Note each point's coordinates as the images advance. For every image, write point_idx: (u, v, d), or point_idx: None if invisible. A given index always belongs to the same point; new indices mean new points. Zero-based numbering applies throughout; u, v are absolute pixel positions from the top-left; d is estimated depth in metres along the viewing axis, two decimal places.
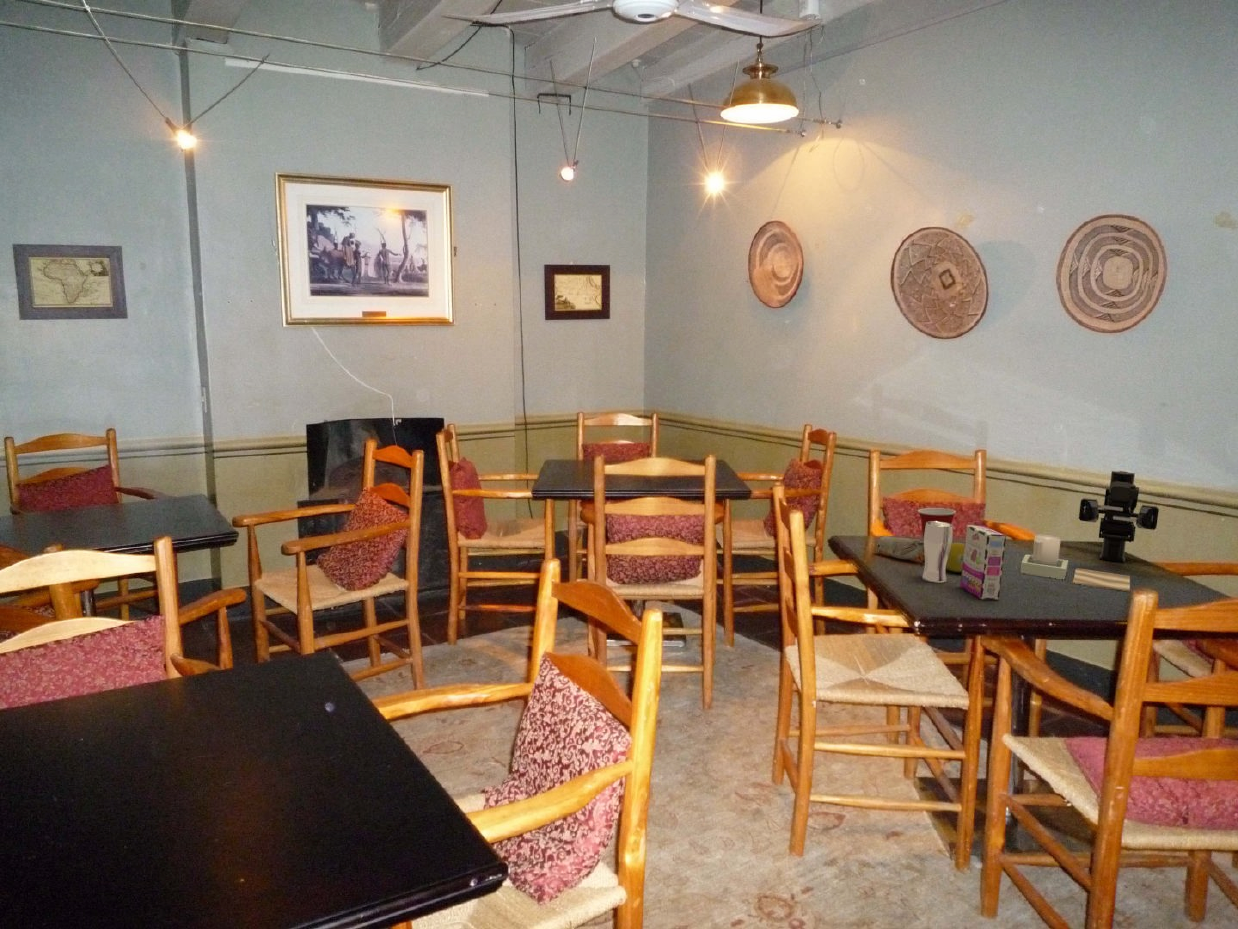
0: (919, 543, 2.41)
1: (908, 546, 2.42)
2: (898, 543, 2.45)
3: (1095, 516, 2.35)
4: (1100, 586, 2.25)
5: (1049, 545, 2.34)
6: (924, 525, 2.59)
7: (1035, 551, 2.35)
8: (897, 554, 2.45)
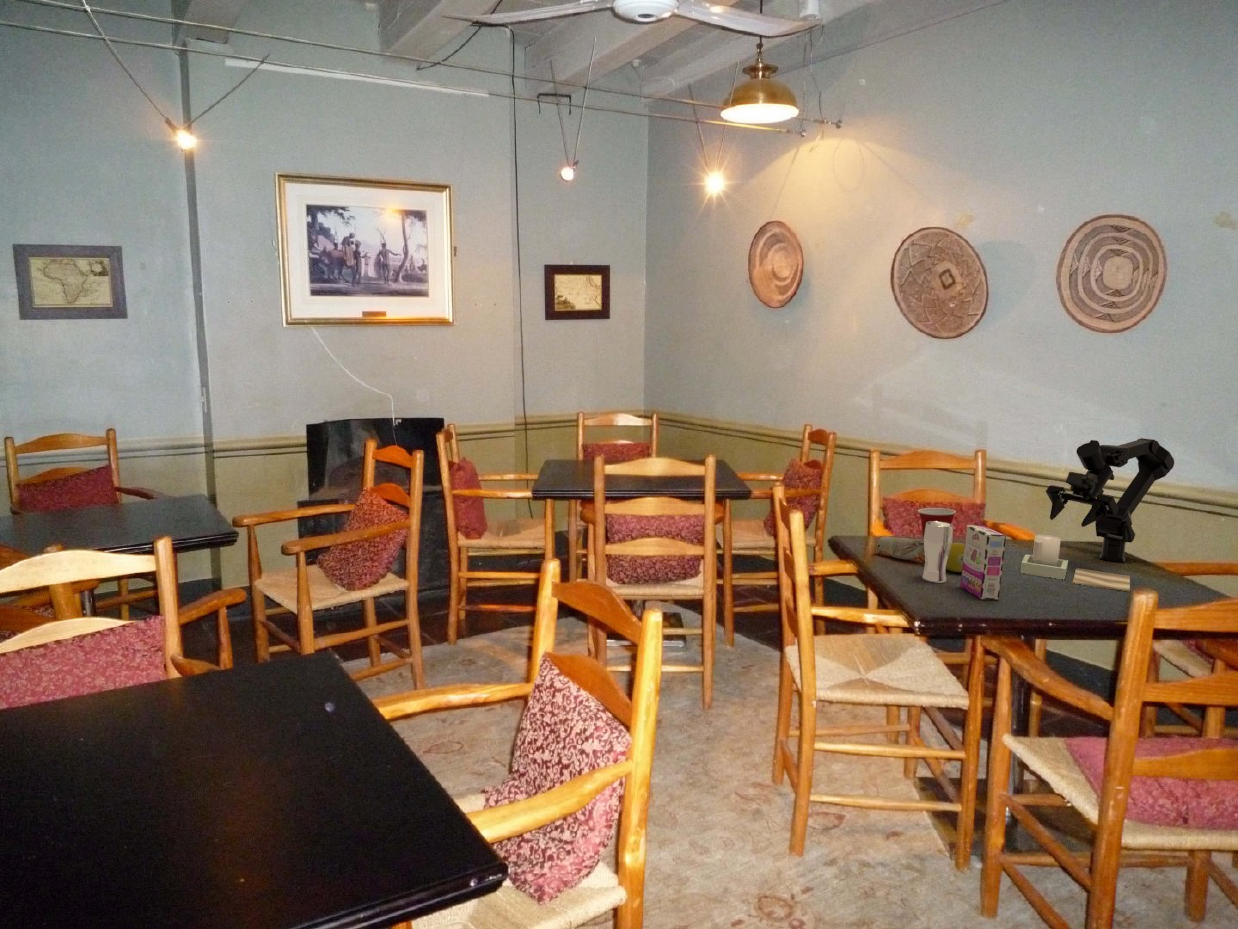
0: (919, 543, 2.41)
1: (908, 546, 2.42)
2: (898, 543, 2.45)
3: None
4: (1100, 586, 2.25)
5: (1049, 545, 2.34)
6: (924, 525, 2.59)
7: (1035, 551, 2.35)
8: (897, 555, 2.45)
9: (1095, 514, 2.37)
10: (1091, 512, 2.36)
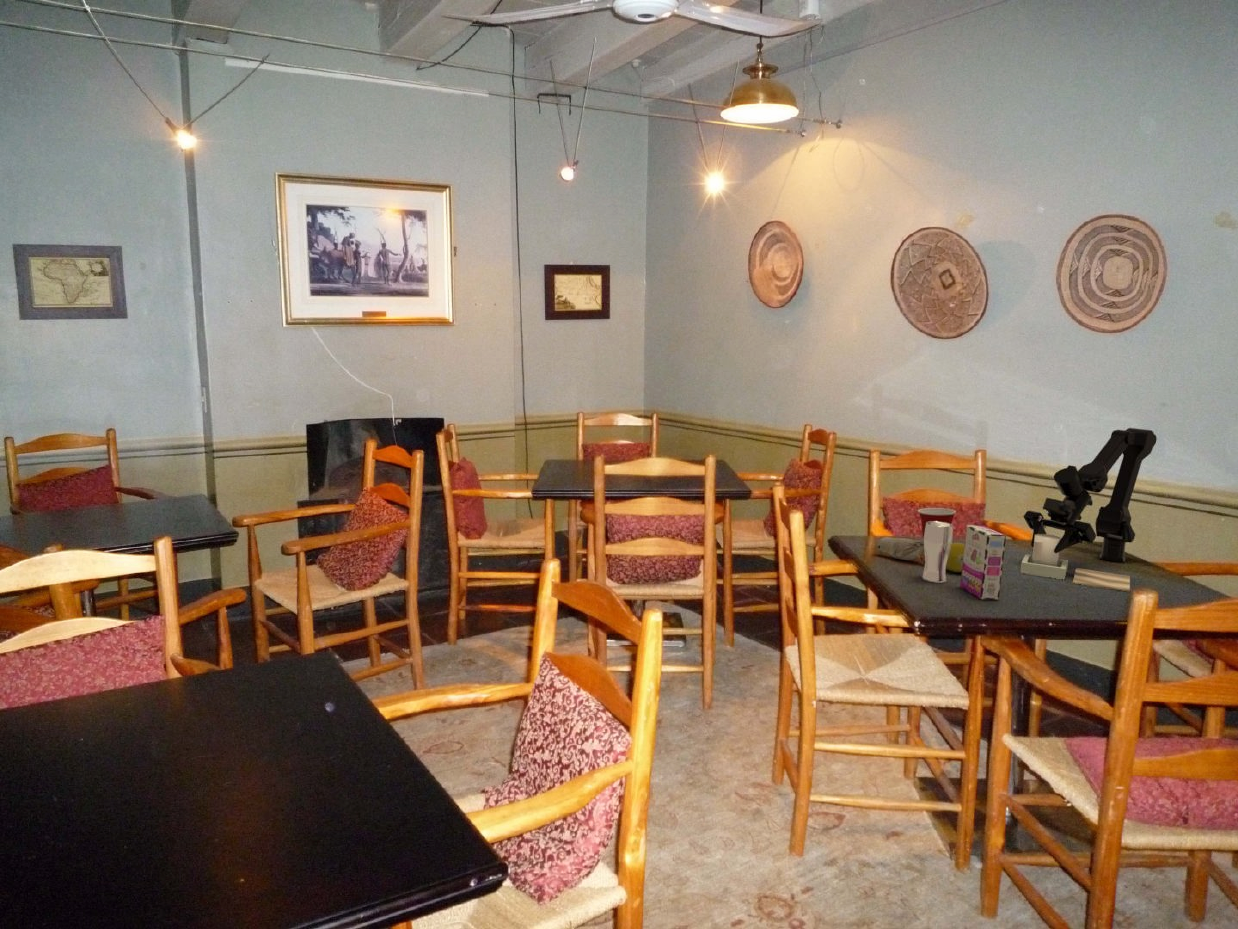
0: (921, 544, 2.41)
1: (910, 547, 2.42)
2: (899, 543, 2.44)
3: None
4: (1100, 586, 2.25)
5: (1049, 545, 2.34)
6: (924, 525, 2.59)
7: (1035, 551, 2.35)
8: (898, 555, 2.44)
9: (1068, 540, 2.34)
10: (1064, 538, 2.34)
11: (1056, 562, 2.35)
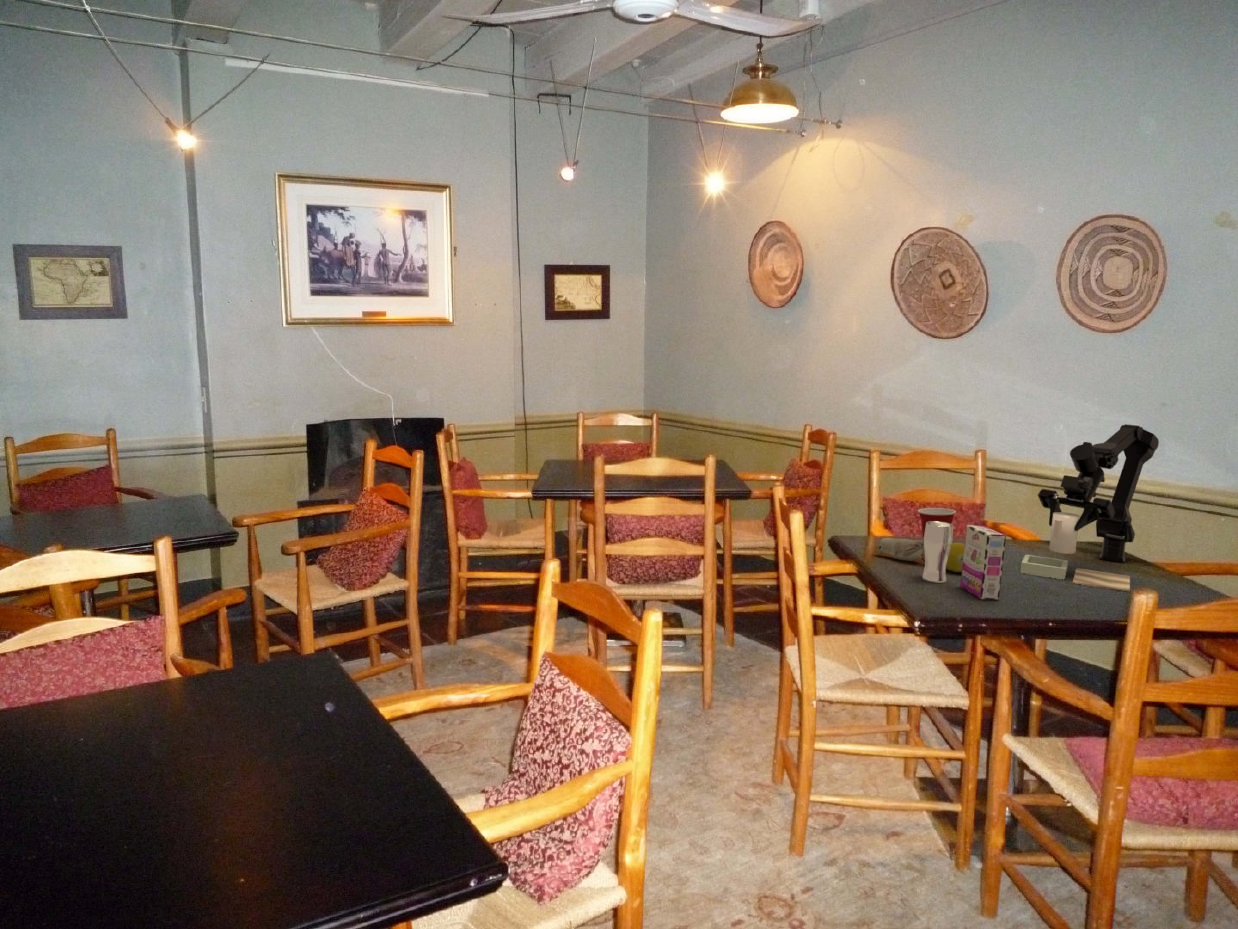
0: (922, 544, 2.40)
1: (911, 547, 2.41)
2: (901, 544, 2.43)
3: None
4: (1100, 586, 2.25)
5: (1069, 523, 2.31)
6: (924, 525, 2.59)
7: (1055, 530, 2.31)
8: (900, 556, 2.43)
9: (1087, 517, 2.31)
10: (1084, 516, 2.30)
11: (1075, 540, 2.32)
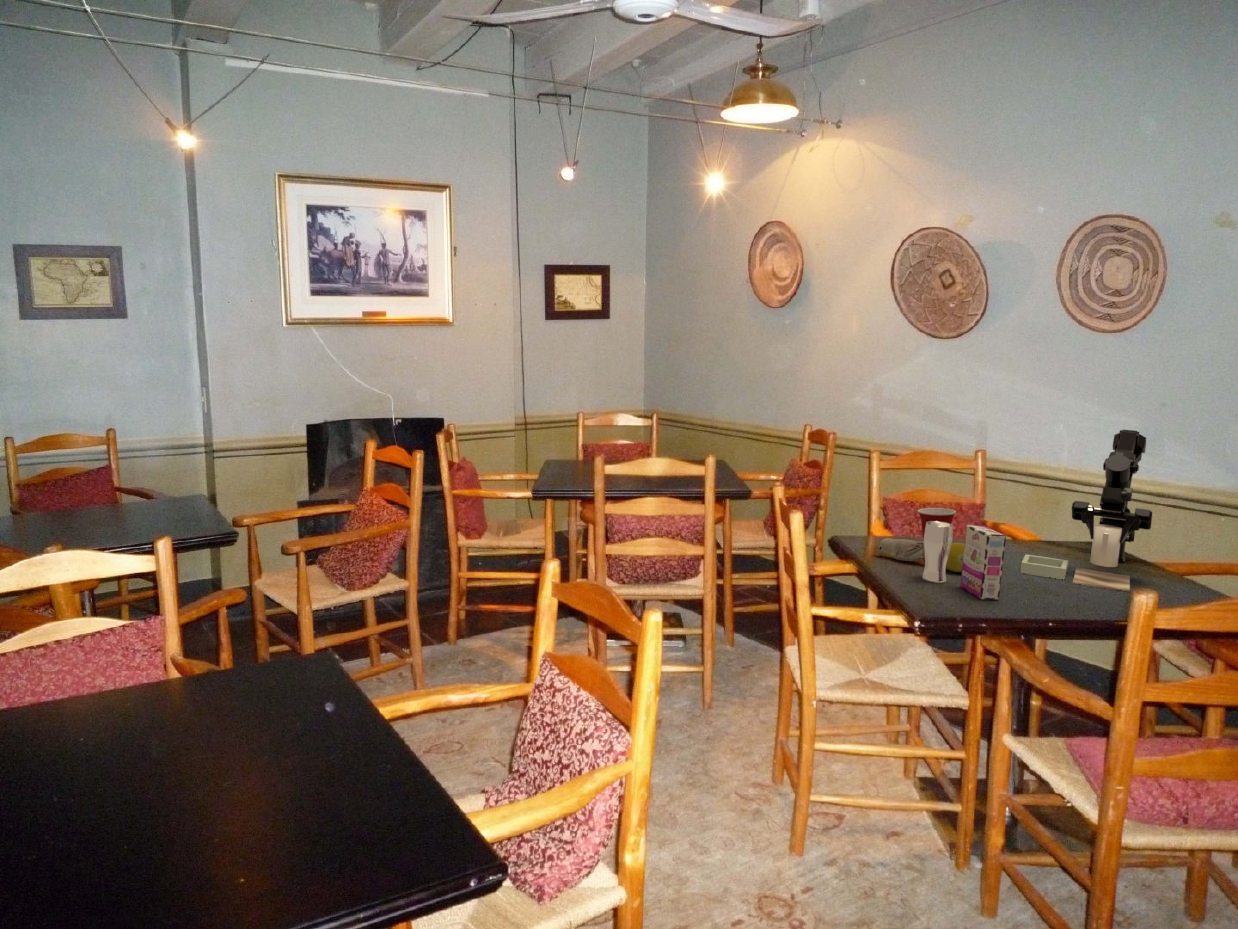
0: (923, 544, 2.40)
1: (912, 548, 2.41)
2: (901, 544, 2.43)
3: (1090, 534, 2.32)
4: (1100, 586, 2.25)
5: (1115, 536, 2.26)
6: (924, 525, 2.59)
7: (1104, 543, 2.26)
8: (900, 557, 2.43)
9: (1128, 529, 2.29)
10: (1127, 527, 2.27)
11: (1118, 552, 2.29)
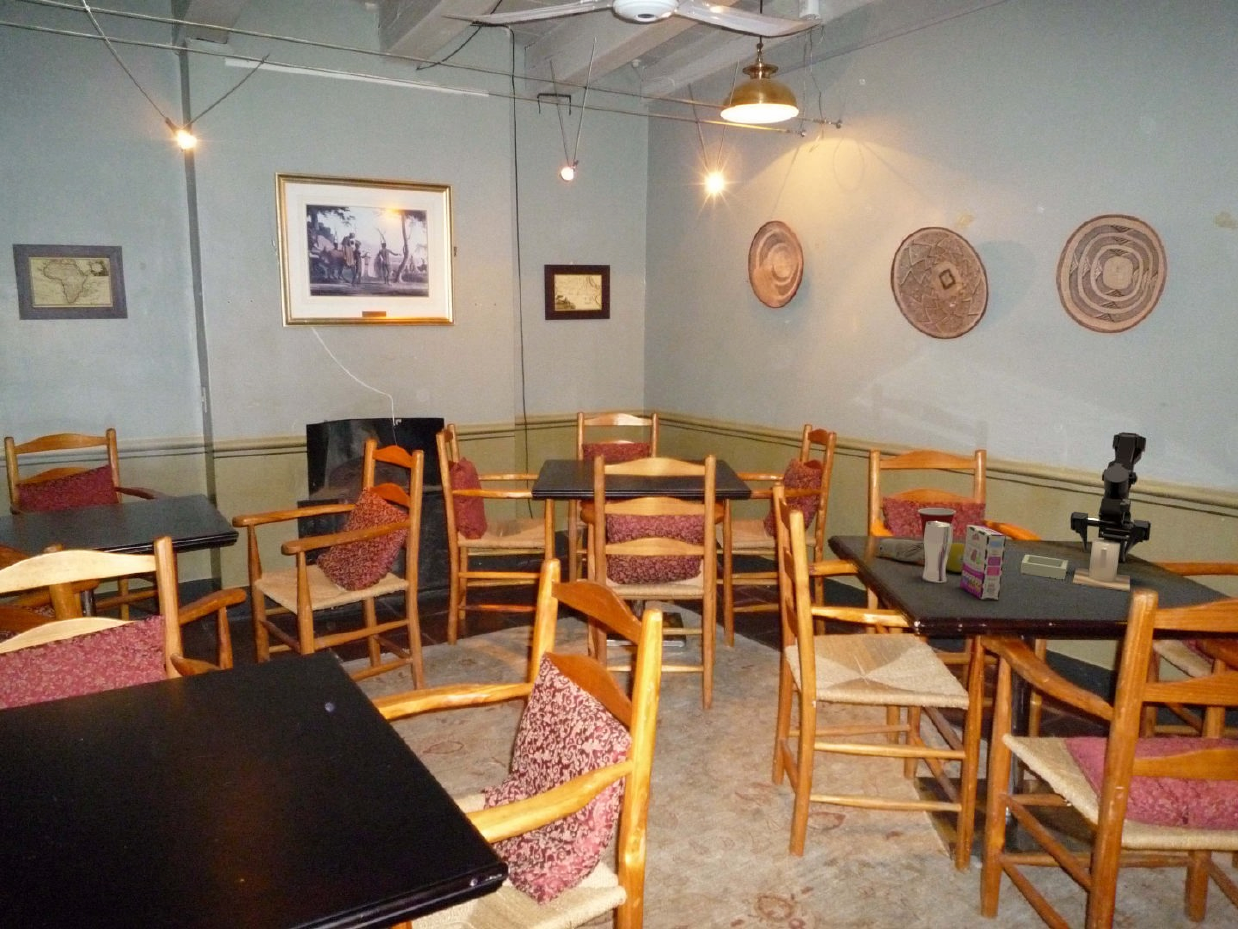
0: None
1: (913, 548, 2.40)
2: (902, 545, 2.42)
3: (1083, 544, 2.33)
4: (1100, 586, 2.25)
5: (1114, 551, 2.27)
6: (924, 525, 2.59)
7: (1102, 559, 2.27)
8: (901, 557, 2.42)
9: (1132, 541, 2.28)
10: (1131, 539, 2.27)
11: (1116, 567, 2.29)
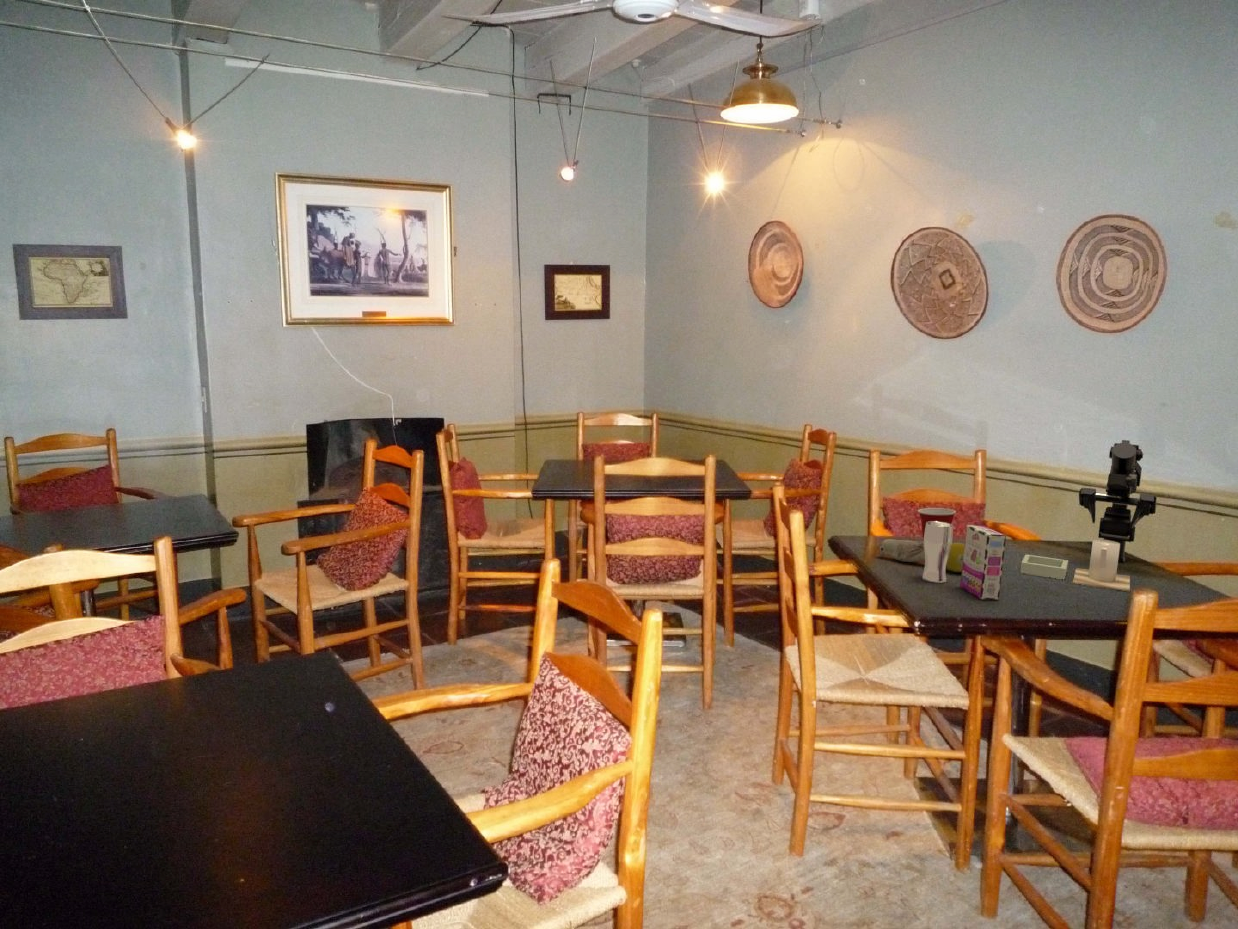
0: None
1: (915, 549, 2.40)
2: (904, 545, 2.42)
3: None
4: (1100, 586, 2.25)
5: (1114, 551, 2.27)
6: (924, 525, 2.59)
7: (1102, 559, 2.27)
8: (903, 558, 2.42)
9: (1139, 514, 2.37)
10: (1137, 513, 2.36)
11: (1116, 567, 2.29)
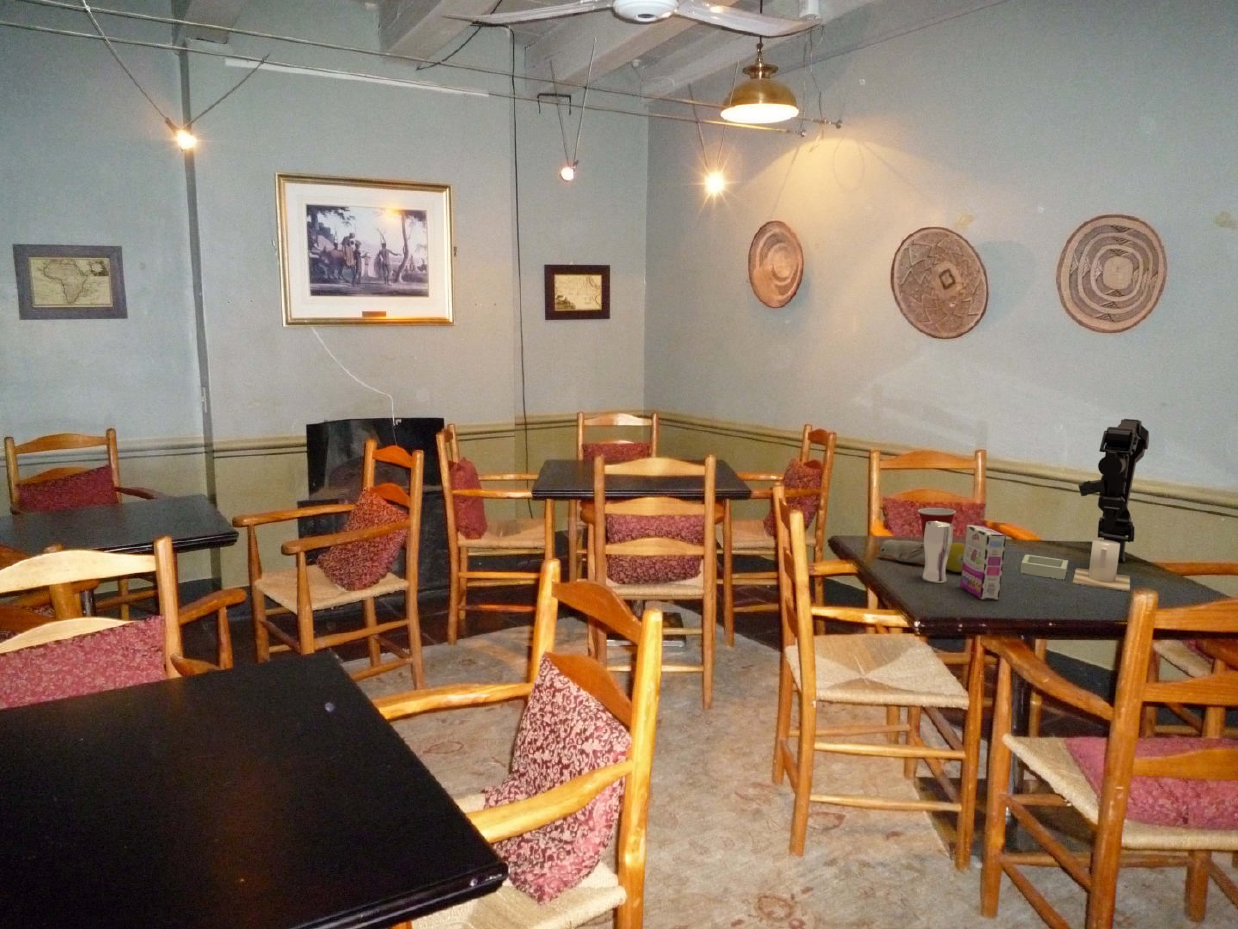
0: None
1: (916, 549, 2.39)
2: (905, 546, 2.41)
3: None
4: (1100, 586, 2.25)
5: (1114, 551, 2.27)
6: (924, 525, 2.59)
7: (1102, 559, 2.27)
8: (904, 558, 2.41)
9: (1111, 514, 2.36)
10: (1104, 516, 2.37)
11: (1116, 567, 2.29)
